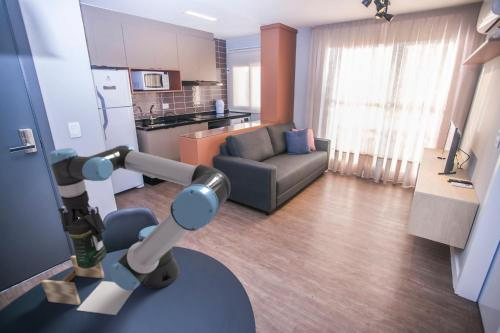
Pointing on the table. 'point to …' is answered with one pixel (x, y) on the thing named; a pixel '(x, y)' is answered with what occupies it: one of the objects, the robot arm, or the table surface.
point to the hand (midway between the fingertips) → (89, 247)
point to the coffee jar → (85, 244)
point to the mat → (105, 299)
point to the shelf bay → (69, 284)
